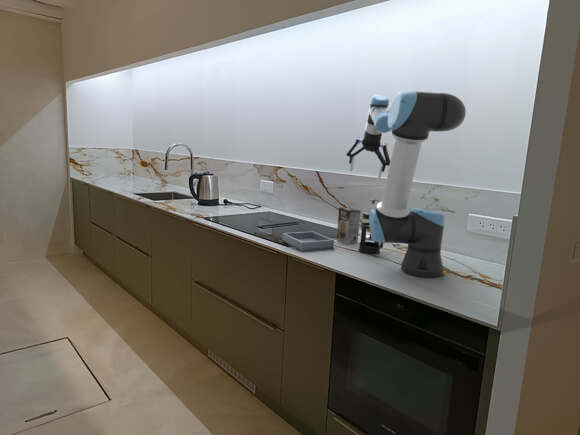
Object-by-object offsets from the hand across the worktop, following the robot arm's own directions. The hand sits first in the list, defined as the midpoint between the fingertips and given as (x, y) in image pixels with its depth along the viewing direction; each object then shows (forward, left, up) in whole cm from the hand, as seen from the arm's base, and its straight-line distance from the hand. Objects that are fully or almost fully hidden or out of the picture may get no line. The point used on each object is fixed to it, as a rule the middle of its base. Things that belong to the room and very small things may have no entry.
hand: (365, 173), depth 192 cm
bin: (-1, +30, -32) cm, 44 cm away
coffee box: (-2, +9, -33) cm, 34 cm away
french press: (-19, +9, -33) cm, 39 cm away
